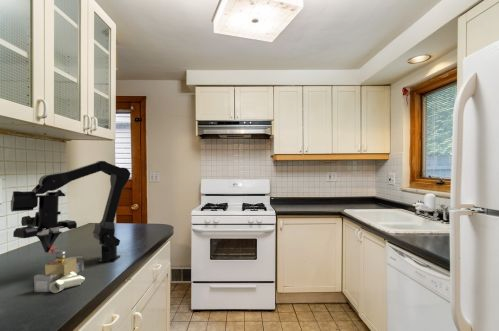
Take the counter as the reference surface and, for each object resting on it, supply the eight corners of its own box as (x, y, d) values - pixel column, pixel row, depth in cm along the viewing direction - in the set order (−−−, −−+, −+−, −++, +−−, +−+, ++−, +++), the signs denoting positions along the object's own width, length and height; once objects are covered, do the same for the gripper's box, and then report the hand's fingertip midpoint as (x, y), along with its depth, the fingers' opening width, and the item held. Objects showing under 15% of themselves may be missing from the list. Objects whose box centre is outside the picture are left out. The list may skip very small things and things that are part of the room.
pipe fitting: (86, 283, 92) (67, 281, 92) (87, 272, 92) (67, 270, 92) (70, 294, 84) (49, 293, 84) (71, 282, 84) (50, 281, 84)
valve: (69, 269, 102) (69, 248, 102) (86, 269, 102) (85, 248, 102) (31, 292, 84) (31, 267, 84) (52, 291, 84) (51, 266, 84)
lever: (68, 256, 94) (67, 251, 94) (57, 259, 91) (57, 254, 91) (55, 249, 101) (55, 245, 101) (45, 252, 99) (44, 247, 99)
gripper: (58, 205, 108) (56, 243, 108) (3, 210, 91) (1, 257, 90) (78, 206, 105) (76, 246, 104) (25, 213, 87) (23, 261, 87)
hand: (46, 252), depth 97 cm, fingers closed
